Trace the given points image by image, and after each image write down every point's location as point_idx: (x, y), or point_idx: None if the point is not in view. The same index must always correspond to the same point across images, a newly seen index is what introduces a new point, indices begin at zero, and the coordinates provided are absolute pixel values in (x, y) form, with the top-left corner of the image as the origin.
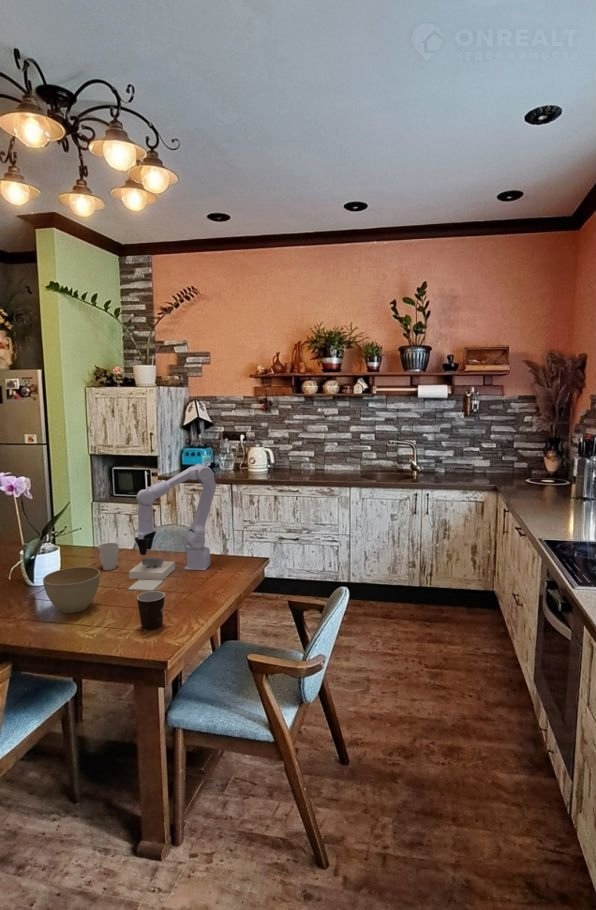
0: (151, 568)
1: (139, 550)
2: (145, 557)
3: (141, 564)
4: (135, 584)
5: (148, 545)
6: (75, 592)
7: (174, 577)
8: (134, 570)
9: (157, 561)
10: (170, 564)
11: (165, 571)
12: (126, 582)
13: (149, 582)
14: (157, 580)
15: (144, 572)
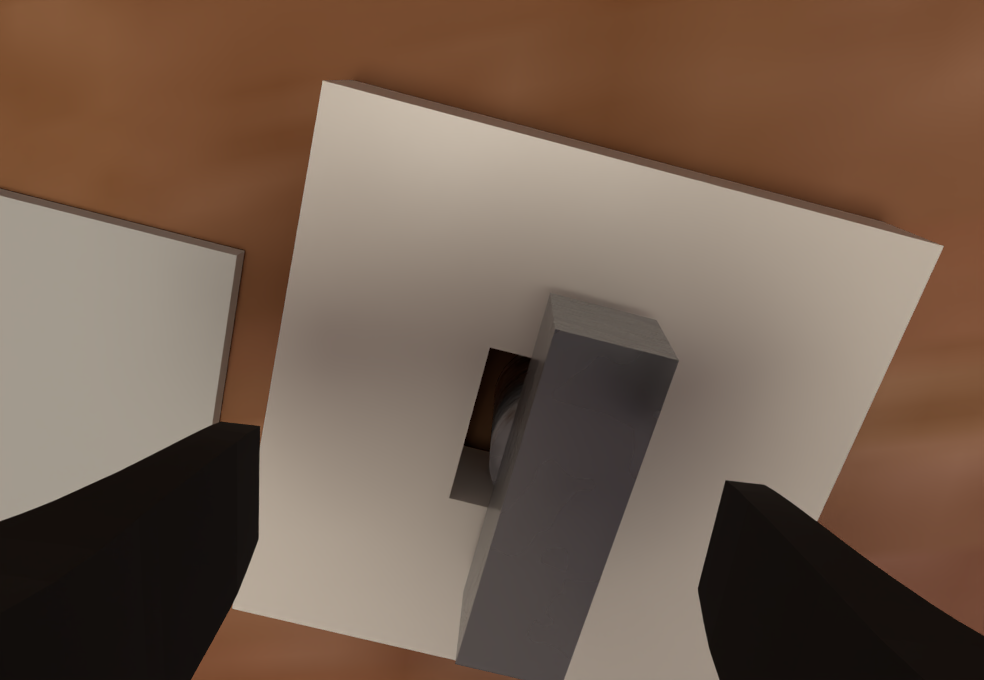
0: (452, 440)
1: (136, 464)
2: (645, 388)
3: (701, 246)
4: (29, 238)
5: (743, 616)
6: None
7: (364, 658)
8: (371, 174)
9: (473, 590)
10: (610, 676)
11: (350, 622)
12: (186, 65)
13: (117, 415)
14: None
15: (276, 355)
